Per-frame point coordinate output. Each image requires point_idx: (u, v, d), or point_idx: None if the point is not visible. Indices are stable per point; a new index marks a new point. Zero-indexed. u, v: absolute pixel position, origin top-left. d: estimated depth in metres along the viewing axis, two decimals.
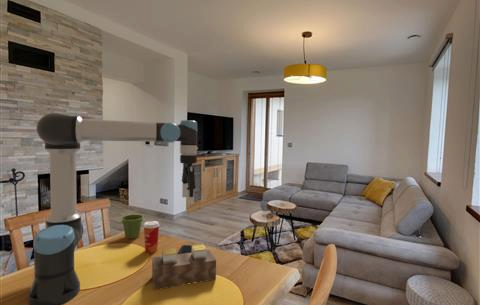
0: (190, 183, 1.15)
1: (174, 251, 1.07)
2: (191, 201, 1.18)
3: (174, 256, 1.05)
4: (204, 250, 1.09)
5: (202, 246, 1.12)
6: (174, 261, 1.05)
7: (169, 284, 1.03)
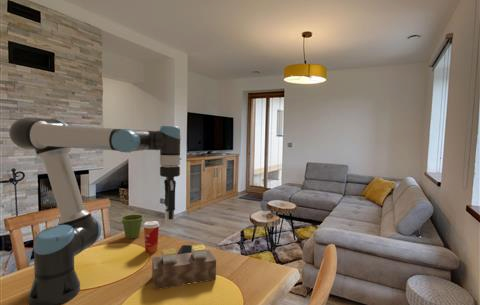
0: (169, 205, 1.00)
1: (174, 251, 1.07)
2: (171, 224, 1.03)
3: (174, 256, 1.05)
4: (204, 250, 1.09)
5: (202, 246, 1.12)
6: (174, 261, 1.05)
7: (169, 284, 1.03)
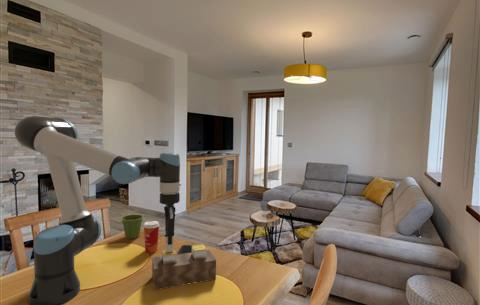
0: (168, 232, 1.02)
1: (174, 252, 1.07)
2: (170, 249, 1.06)
3: (174, 257, 1.05)
4: (204, 250, 1.09)
5: (202, 246, 1.12)
6: (174, 262, 1.05)
7: (169, 284, 1.03)
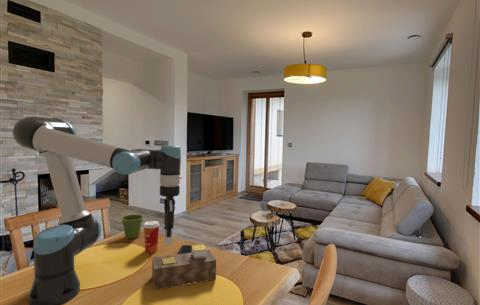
0: (167, 224, 1.02)
1: (174, 260, 1.07)
2: (168, 241, 1.06)
3: None
4: (204, 250, 1.09)
5: (202, 246, 1.12)
6: None
7: (169, 284, 1.03)
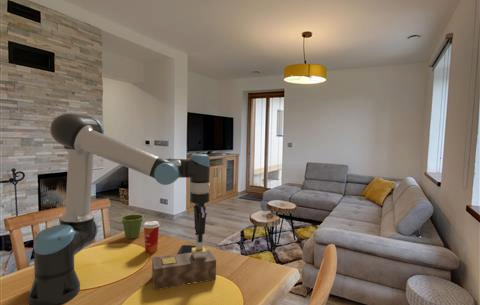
0: (199, 230, 1.07)
1: (174, 260, 1.07)
2: (200, 246, 1.10)
3: None
4: (204, 252, 1.10)
5: None
6: None
7: (169, 284, 1.03)
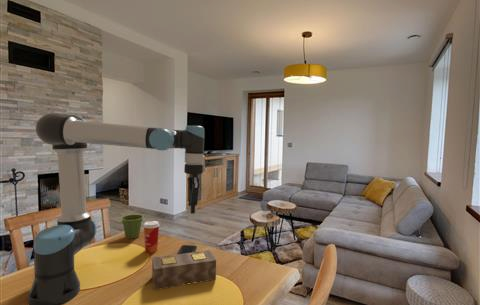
0: (192, 200, 1.07)
1: (174, 260, 1.07)
2: (192, 218, 1.11)
3: None
4: None
5: (202, 255, 1.12)
6: None
7: (169, 284, 1.03)
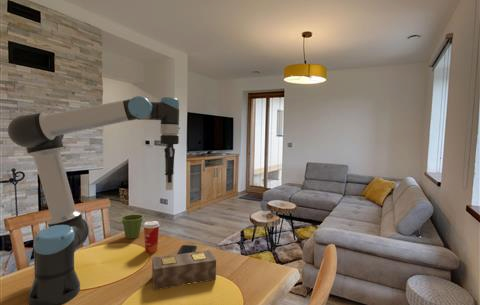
0: (168, 169, 1.11)
1: (174, 260, 1.07)
2: (169, 187, 1.15)
3: None
4: None
5: (202, 255, 1.12)
6: None
7: (169, 284, 1.03)
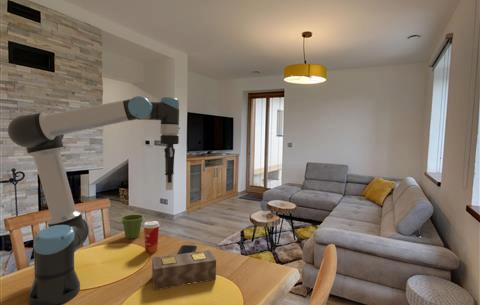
0: (168, 169, 1.11)
1: (174, 260, 1.07)
2: (169, 187, 1.15)
3: None
4: None
5: (202, 255, 1.12)
6: None
7: (169, 284, 1.03)
